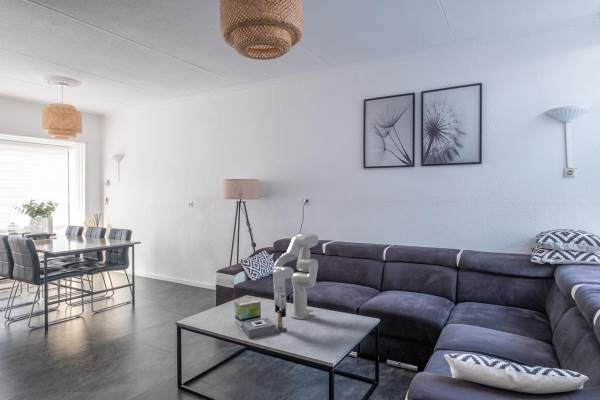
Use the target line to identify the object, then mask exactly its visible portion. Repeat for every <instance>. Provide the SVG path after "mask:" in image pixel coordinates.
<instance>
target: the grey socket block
mask: <svg viewBox="0 0 600 400" xmlns="http://www.w3.org/2000/svg"><path fill="white" fill-rule="evenodd" d="M276 328H277V325H276V323H274V322H273V321H272V320H271V319H270V318H261V319H260V320H255V321H250V322H245V323H242V327H241V331H242V333H244V334H245V336H246V338H248V339H251V338H257V337H260V336H266V335H269V334H275V333H277V332H276Z"/></svg>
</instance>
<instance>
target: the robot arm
mask: <svg viewBox="0 0 600 400" xmlns="http://www.w3.org/2000/svg"><path fill="white" fill-rule="evenodd" d="M318 243H319V237H318V235H317V234H316V233H315V234H314V233H298V234H296V235H295V236H293V237H292V238H291V240H290V243H289V245H288V248H287V250H286V252H285V253H283V254H282V255H281V256H279V257H278V258H277V259H276V261H275V263H274V266H273V267H272V278H273V279H272V280H273V281H272V282H273V283H272V284H273V292H274V293H273V294H274V295H273V297H274V300H273V301H274V311H275V312H274V313H277V314H278V312H277V311H278V310H281V317H282V318H285V317H286V316H287V295H286V280H288V279H291V285H292V290H293V291H292V292H293V294H292V295H293V313H292V314H291V317H292V318H293V319H295V320H305V319H308V318H309V317H310V313H313V312H314V309H313V308H311V309H309V308H308V303H307V302H308V299H307V297H308V295H307V294H308V293H307V290H306V288H313V287H314V286H315V284H316V281H317V277H318V271H319V262H318V260H317V259H315V258H311V251H310V249H311V248H314V247H316V246H317V245H318ZM294 260H297V261H296V269H297V270H298V271H300V272H295V271H294V269H293V268H292V267H290V266H283V265H285V264H286V263H289V262H291V261H294Z"/></svg>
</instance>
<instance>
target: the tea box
mask: <svg viewBox="0 0 600 400" xmlns="http://www.w3.org/2000/svg"><path fill="white" fill-rule="evenodd" d="M234 306H235V308H234V309H235V310H234V311H235V314H234V316H235V319H234V320H235V321H234V322H235V324H236V325H238V327H241V328H242V323H245V322H250V321H255V320H260V319H262V317H261V315H262V314H261V312H262V311H261V309H262V308H261V301H260V300H257V298H250V299H245V300H239V301H235V303H234Z"/></svg>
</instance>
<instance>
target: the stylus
mask: <svg viewBox="0 0 600 400" xmlns="http://www.w3.org/2000/svg"><path fill="white" fill-rule="evenodd" d="M277 327H278V330H282V329H283V327H284V326H283V317H281V309H280V310H278V311H277Z"/></svg>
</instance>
